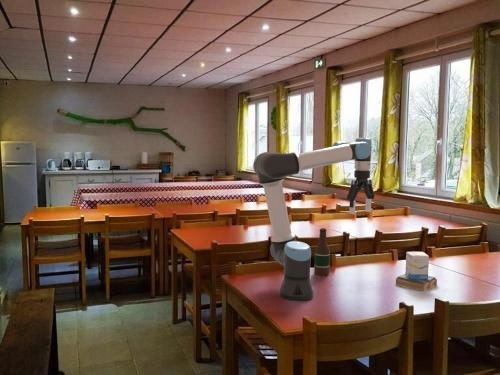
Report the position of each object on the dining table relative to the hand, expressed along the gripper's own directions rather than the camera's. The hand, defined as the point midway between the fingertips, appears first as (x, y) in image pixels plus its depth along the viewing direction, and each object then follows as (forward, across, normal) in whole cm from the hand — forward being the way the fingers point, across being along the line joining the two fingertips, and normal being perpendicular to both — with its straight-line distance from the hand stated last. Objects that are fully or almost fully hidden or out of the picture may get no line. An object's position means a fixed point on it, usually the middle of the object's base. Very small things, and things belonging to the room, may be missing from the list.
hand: (360, 213), depth 230 cm
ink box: (+30, +16, -23) cm, 41 cm away
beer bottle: (+34, -4, +19) cm, 40 cm away
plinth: (+34, +16, -23) cm, 44 cm away
